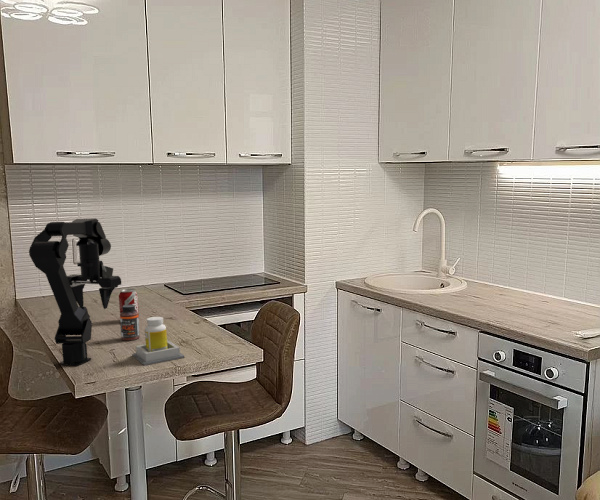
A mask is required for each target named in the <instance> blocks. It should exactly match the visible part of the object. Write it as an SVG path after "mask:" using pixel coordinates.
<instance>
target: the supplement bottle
mask: <svg viewBox="0 0 600 500" xmlns="http://www.w3.org/2000/svg"><path fill="white" fill-rule="evenodd" d="M122 308H123V309H122V310H123V311H122V312H121V314H120V313H119V322H120V338H121V340H122V341H127V342H129V341H130V342H131V341H136V340H137V339H140V335H141V334H140V317H139V318H138V312H137V311H136V310H135V305H124V306H122Z"/></svg>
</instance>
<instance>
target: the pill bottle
mask: <svg viewBox="0 0 600 500" xmlns="http://www.w3.org/2000/svg"><path fill="white" fill-rule="evenodd" d="M146 323H147V326H145V328H144V336H145V337H144V338H145V344H146V351H147V352H153V351H159V350H164V349H168V347H167V340H168V337H167V336H168V334H167V327H166V325H165V324H164V317H162V316H152V317H148V318H146Z"/></svg>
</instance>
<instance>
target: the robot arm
mask: <svg viewBox="0 0 600 500" xmlns="http://www.w3.org/2000/svg"><path fill="white" fill-rule="evenodd" d="M71 235H72V236H73V237H76V238H78V241H76V247H78V251H79V252H78V254H79V262H77V263H76V264H77V265H76V266H77V267H79V268H80V274H70V275H67V272H66V270H65V267H64V265H65V262H66V260H67V255H66V253H67V252H68V248H69V245H70V244H69V242H68V238H67V237H68V236H71ZM52 237H61V239H60V241H59V240H51V239H52ZM50 240H51V241H50ZM30 244H31V245H30V246H29V249H28V255H29V257H30V260H31V261H32V263H33V264H34V267H35V268H36V269H37V270H39V271H41V272H42V273H44V275H45V277H46V279H47V281H48V284H49V286H50V287H49V288H50V289H51V291H52V294H53V296H54V299H55V302H56V304H57V307H58V310H59V312H60V315H59V319H58V321H57V322H58V328H57V330H56V333H55V336H54V341H55V344H56V345H58V344H59V345H61V352H62V361H60V362H58V363H59V365H62V366H69V367H70V366H71V367H77V366H80V365H82V364H85V363H88V362H89V361H91V360H92V358H91V357H88V346H87V342H89V341H91V340H92V330H93V329H92V328H93V323H92V320H91V316H90V315H89V312H88V308H87V307H86V306H84V301H85V300H84V288H85V286H86V285H87V284H89V285H99V286H100V288H98V290H99V292H98V293H99V295H100V296H99V297H100V300H101V305H102V308H103V309H104V310H106V309H108V305H109V303H110V299H111V296H112V293H113V291H114V290H115V289H116V288H118V287H119V286H121V285H122V278H121V277H120V276H119V275H113V274H114V267H110V266H107V265H104V261H103V260H100V256H104V255H106V254H108V253H109V252H110V251H111V247H112V244H111V242H110V241H109V239H108V238H107V235H106V234H105V232H104V229H103V227H102V223H101V222H100V221H99V219H98V218H96V217H95V218H76V219H74V220H72V222H65V221H50V222H48V223H46V226H45V227H44V229H43V230H42V231H41V232H39V234H37V235H35V237H34V239H32V242H31V243H30Z"/></svg>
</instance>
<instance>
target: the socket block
mask: <svg viewBox="0 0 600 500" xmlns="http://www.w3.org/2000/svg"><path fill="white" fill-rule="evenodd" d="M167 347H168V349H164V350H159V351H153V352H147V351H146V343H145V344H140V345H136V346H135V350H136V352H134V353H132V354H131V355H132V356H133V358H135V359H136V360H137V361H138V362H139V363H140V364H141V365H143V366H150V365H154V364H160V363H164V362H170V361H174V360H179V359H185V355H184V354H183V353H181V350H180V349H181V348H180V347H179V346H178V345H176V344H174V343H173V342H172V341H170V340H168V339H167Z"/></svg>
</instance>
